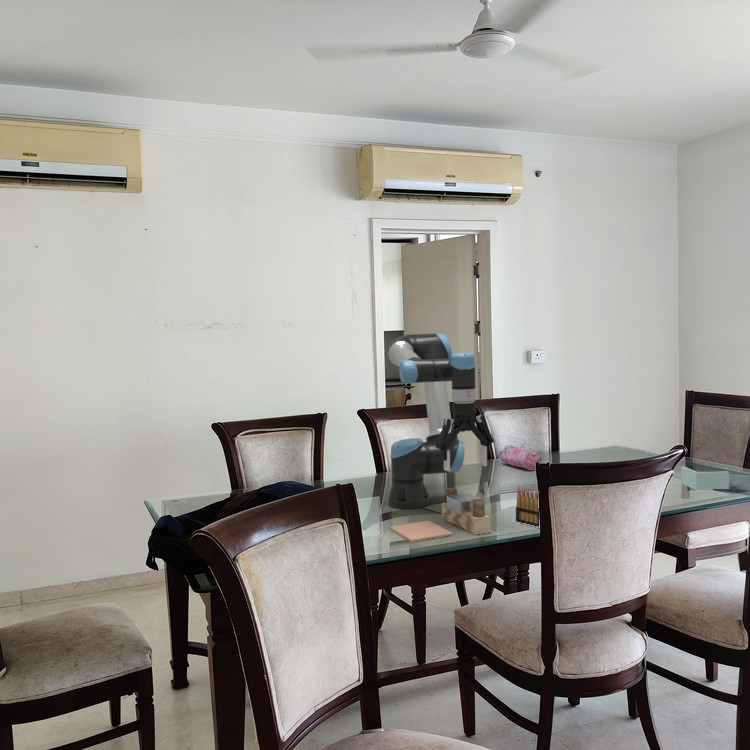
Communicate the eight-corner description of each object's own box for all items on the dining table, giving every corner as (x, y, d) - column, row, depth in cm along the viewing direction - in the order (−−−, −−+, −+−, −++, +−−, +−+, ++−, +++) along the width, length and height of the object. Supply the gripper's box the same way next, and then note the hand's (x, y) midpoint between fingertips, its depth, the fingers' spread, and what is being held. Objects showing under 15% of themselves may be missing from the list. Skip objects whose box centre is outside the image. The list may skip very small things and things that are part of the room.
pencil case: (498, 464, 316) (498, 445, 316) (515, 462, 319) (515, 443, 319) (525, 472, 296) (524, 452, 296) (543, 470, 300) (542, 450, 299)
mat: (389, 529, 219) (389, 526, 219) (428, 522, 224) (428, 520, 224) (411, 542, 204) (411, 540, 204) (452, 535, 210) (452, 533, 209)
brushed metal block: (447, 508, 223) (446, 496, 222) (468, 505, 226) (468, 493, 225) (460, 514, 214) (460, 502, 214) (482, 511, 217) (482, 498, 217)
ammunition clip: (515, 522, 222) (514, 485, 221) (519, 521, 223) (518, 484, 222) (542, 529, 213) (541, 490, 212) (546, 527, 214) (545, 489, 214)
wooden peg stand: (442, 518, 230) (441, 488, 229) (455, 516, 231) (454, 486, 231) (476, 535, 209) (475, 502, 209) (490, 532, 211) (489, 500, 210)
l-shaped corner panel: (729, 491, 251) (729, 471, 250) (696, 493, 250) (696, 472, 250) (712, 484, 263) (712, 465, 262) (681, 485, 262) (681, 466, 262)
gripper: (435, 406, 209) (436, 474, 211) (503, 399, 219) (505, 465, 221) (423, 403, 216) (425, 470, 218) (490, 397, 226) (492, 461, 227)
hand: (465, 468), depth 219 cm, fingers open, 13 cm apart
